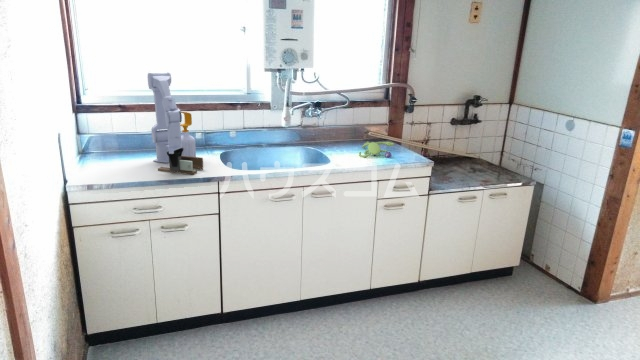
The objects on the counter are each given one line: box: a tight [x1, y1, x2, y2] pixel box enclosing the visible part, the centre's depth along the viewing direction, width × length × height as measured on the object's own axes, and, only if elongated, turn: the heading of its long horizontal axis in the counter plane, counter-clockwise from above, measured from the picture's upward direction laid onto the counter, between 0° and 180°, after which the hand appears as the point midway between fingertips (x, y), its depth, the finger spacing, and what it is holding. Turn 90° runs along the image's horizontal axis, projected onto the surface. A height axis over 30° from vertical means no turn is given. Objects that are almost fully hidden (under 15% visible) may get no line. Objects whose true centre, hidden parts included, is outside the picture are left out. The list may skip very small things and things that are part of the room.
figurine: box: [358, 141, 395, 159], centre depth 261 cm, size 18×27×6 cm
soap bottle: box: [180, 111, 197, 157], centre depth 233 cm, size 9×9×25 cm
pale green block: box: [179, 160, 194, 171], centre depth 212 cm, size 2×6×4 cm, turn 76°
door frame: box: [157, 156, 204, 176], centre depth 217 cm, size 10×18×6 cm, turn 76°
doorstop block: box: [168, 156, 181, 171], centre depth 213 cm, size 4×4×6 cm
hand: (176, 165), depth 213 cm, fingers closed on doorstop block, 4 cm apart
